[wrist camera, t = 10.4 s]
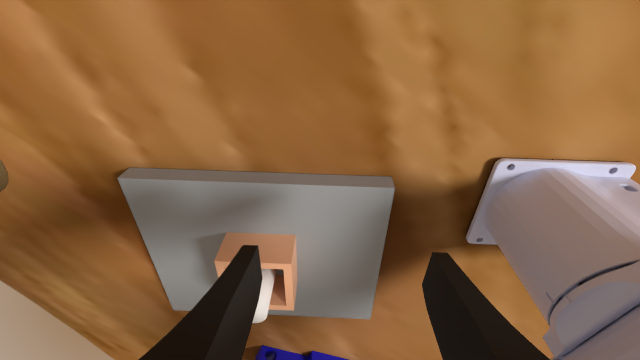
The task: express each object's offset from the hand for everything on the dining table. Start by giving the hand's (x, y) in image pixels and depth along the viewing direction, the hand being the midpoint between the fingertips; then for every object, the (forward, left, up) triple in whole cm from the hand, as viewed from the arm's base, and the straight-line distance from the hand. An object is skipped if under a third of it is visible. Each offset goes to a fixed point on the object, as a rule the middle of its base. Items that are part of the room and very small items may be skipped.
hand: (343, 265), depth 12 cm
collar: (+6, +10, -9) cm, 14 cm away
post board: (+6, +10, -10) cm, 16 cm away
